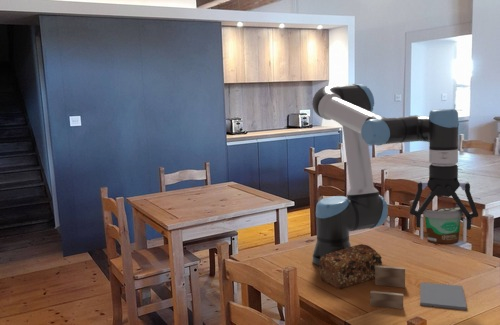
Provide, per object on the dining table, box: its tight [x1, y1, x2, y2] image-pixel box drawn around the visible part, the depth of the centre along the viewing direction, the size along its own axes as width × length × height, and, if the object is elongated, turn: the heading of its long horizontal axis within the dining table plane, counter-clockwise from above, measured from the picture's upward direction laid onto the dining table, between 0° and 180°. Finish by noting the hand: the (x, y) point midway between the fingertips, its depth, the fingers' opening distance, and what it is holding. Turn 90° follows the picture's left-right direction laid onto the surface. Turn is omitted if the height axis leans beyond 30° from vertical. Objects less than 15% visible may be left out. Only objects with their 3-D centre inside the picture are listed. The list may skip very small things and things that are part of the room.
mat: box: [419, 281, 468, 311], centre depth 136 cm, size 12×15×1 cm
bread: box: [319, 243, 383, 290], centre depth 152 cm, size 19×11×10 cm, turn 117°
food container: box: [422, 203, 465, 246], centre depth 133 cm, size 12×6×10 cm, turn 108°
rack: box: [369, 265, 406, 310], centre depth 138 cm, size 9×16×6 cm, turn 160°
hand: (442, 239), depth 134 cm, fingers closed on food container, 11 cm apart
